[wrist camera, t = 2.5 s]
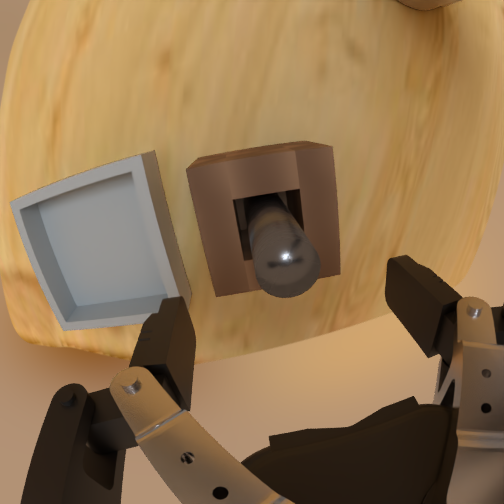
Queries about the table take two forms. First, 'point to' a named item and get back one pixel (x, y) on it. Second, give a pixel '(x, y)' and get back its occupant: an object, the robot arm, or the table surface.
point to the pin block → (258, 183)
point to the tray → (103, 244)
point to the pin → (279, 247)
